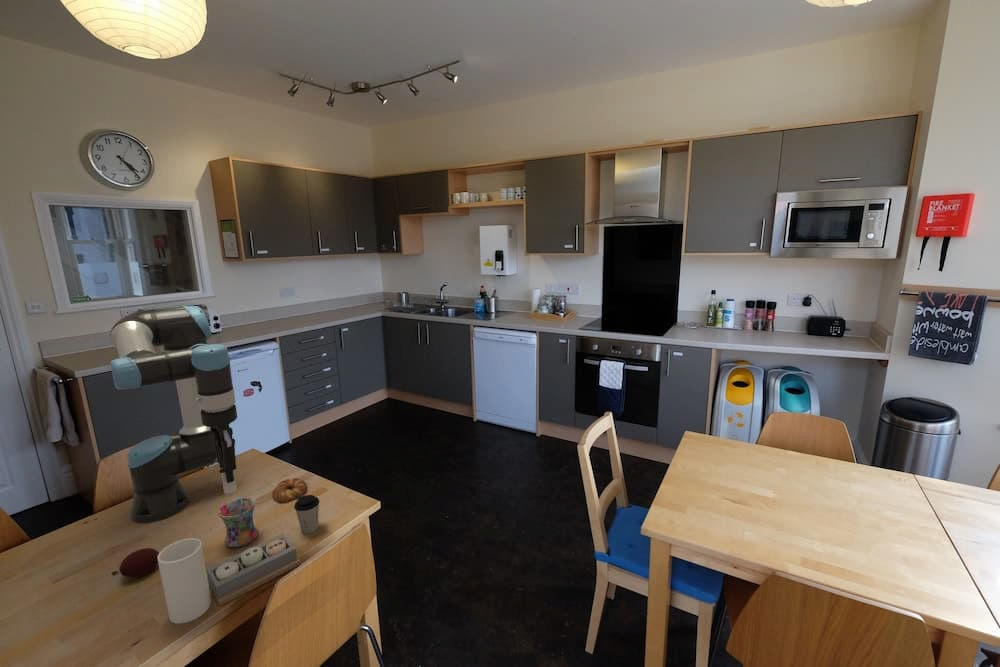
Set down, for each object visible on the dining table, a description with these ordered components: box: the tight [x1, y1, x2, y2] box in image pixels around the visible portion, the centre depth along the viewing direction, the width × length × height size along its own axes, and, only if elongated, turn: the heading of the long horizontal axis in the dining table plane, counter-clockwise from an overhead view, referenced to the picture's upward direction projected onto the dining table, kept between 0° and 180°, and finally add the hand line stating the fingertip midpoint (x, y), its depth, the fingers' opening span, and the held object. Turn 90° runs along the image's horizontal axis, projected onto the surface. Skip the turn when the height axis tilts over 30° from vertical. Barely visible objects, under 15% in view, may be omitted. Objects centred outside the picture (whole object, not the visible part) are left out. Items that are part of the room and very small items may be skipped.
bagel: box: [271, 477, 307, 504], centre depth 152 cm, size 12×11×4 cm
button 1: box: [216, 561, 239, 581], centre depth 111 cm, size 5×5×3 cm
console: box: [206, 533, 301, 607], centre depth 116 cm, size 12×19×4 cm, turn 136°
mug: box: [217, 497, 259, 548], centre depth 129 cm, size 12×9×11 cm
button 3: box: [266, 540, 286, 557], centre depth 119 cm, size 5×5×3 cm
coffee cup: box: [294, 494, 320, 535], centre depth 132 cm, size 7×7×10 cm
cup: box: [158, 537, 212, 625], centre depth 103 cm, size 8×8×16 cm
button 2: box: [241, 546, 263, 569], centre depth 115 cm, size 5×5×3 cm
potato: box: [119, 547, 160, 579], centre depth 116 cm, size 7×8×6 cm
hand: (230, 491), depth 116 cm, fingers closed
